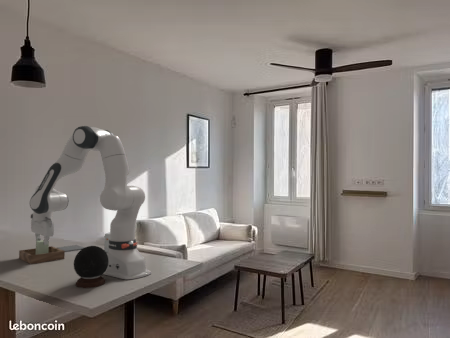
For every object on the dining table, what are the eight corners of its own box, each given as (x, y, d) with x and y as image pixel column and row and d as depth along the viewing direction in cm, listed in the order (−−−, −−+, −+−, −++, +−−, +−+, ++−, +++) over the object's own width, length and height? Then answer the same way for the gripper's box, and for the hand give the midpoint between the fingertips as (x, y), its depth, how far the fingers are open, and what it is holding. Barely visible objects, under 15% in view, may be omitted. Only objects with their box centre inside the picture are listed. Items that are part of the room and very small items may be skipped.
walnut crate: (64, 258, 176) (64, 250, 176) (30, 264, 164) (31, 255, 164) (51, 253, 186) (51, 246, 186) (19, 258, 174) (19, 250, 174)
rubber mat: (85, 248, 200) (85, 247, 200) (65, 251, 191) (65, 250, 191) (76, 245, 208) (76, 244, 208) (56, 248, 199) (56, 247, 199)
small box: (121, 250, 198) (122, 232, 198) (117, 252, 192) (118, 234, 192) (108, 250, 198) (108, 232, 199) (103, 252, 193) (104, 233, 193)
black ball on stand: (111, 278, 144) (113, 243, 144) (102, 288, 131) (103, 249, 131) (80, 278, 143) (81, 242, 144) (67, 288, 130) (68, 249, 131)
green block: (48, 258, 175) (48, 241, 175) (38, 260, 172) (39, 242, 172) (44, 257, 178) (45, 239, 178) (35, 258, 175) (36, 240, 175)
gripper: (58, 218, 171) (56, 245, 171) (41, 213, 184) (40, 239, 184) (44, 218, 166) (43, 247, 166) (29, 214, 180) (27, 240, 179)
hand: (41, 243), depth 175 cm, fingers open, 8 cm apart
